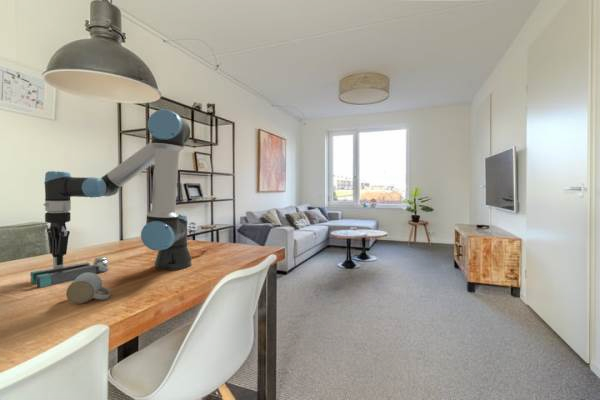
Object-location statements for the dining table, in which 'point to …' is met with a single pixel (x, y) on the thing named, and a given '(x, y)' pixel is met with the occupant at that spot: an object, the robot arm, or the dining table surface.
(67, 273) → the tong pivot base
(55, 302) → the dining table surface
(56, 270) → the tong swing arm
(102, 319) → the dining table surface
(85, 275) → the ceramic mug
